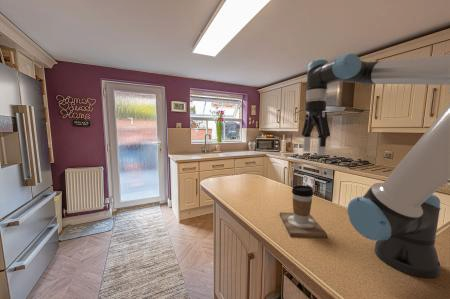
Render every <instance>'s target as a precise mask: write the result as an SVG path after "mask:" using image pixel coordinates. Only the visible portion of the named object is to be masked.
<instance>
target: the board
mask: <svg viewBox="0 0 450 299" xmlns="http://www.w3.org/2000/svg"><path fill="white" fill-rule="evenodd" d="M279 217H280V219H281V221H282V223H283V225H284V227H285V229H286V231H287V233H288V235H289V237H304V238H322V239H323V238H324V239H327V238H328V233H327V232H326V231H325V229H323V227H322V226H321V225H320V224H319V223H318V222H317V220H316V219H315V218H314V217H313V215H311V214H310V215H309V221H308V223H307V224H299V223H296V222H295V221H294V213H293V212H281V211H280V212H279Z"/></svg>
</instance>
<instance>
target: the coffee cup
mask: <svg viewBox="0 0 450 299" xmlns="http://www.w3.org/2000/svg"><path fill="white" fill-rule="evenodd" d="M291 193H292V210H293V212H292V213H294V221H295V222H296V223H299V224H307V223H308V221H309V215H311V209H312V201H313V196H314V189H313V187H312V186H310V185H294V186H293V187H292V190H291Z"/></svg>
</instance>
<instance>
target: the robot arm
mask: <svg viewBox="0 0 450 299" xmlns="http://www.w3.org/2000/svg"><path fill="white" fill-rule="evenodd" d="M335 82H344V83H352V84H353V83H354V84H359V85H366V86H370V85H371V86H372V85H376V84H377V85H433V86H434V85H435V86H436V85H438V86H439V85H441V86H442V85H443V86H444V85H445V86H450V54H441V55H439V54H438V55H430V56H429V55H428V56H419V57H418V56H417V57H411V58H410V57H409V58H408V57H407V58H399V59H398V58H397V59H396V58H395V59H386V60H377V61H363V60H362V59H361V58H360V57H359V56H358V55H357V53H348V54H344V55H341V56H339V57H337V58H335V59H332V60H330V61H328V60H327V59H317V60H313V61H311V62H309V64H308V65H307V72H306V95H305V101H306V103H305V112H307V113H308V114H305V116H304V118H305V119H304V124H303V128H302V132H301V136H303V146H302V147H303V149H302V151H303V152H307V153H308V152H310V151H311V137H312V135H311V134H312V132H313V129H314V126H315V127H316V131H317V134H318V136H317V148H316V150H317V152H316V155H317V156H326V146H327V145H326V144H327V138H328V137H331V133H330V126H329V122H328V112H327V111H326V110H327V101H326V100H327V96H328V93H327V92H328V84H329V85H330V84H332V83H333V84H334V83H335ZM448 92H449V93H450V89H448ZM449 179H450V103H449V104H448V105H447V106H446V108H444V110H443V111H442V112H441V113H440V114H439V116H438V117H437V118H436V119H435V121H434V122H433V123H432V124H431V125H430V126H429V127H428V129H427V130H426V131H425V132H424V133H423V135H422V136H421V137H420V138H419V139H418V140H417V142H416V143H415V144H414V146H412V148H411V149H410V150H409V152H407V154H406V155H405V156H404V157H403V158H402V159H401V161H400V162H399V163H398V164H397V166H396V167H395V168H394V169H393V170H392V171H391V173H389V175H388V176H387V178H386V179H385V180H383V182H376V183H373V184H372V185H371V186H370V187H369V189H368V190H367V191H366V192H365V194H364V195H363V196H357V197H354V198H353V199H351V200H350V201H349V203H348V204H347V212H346V213H347V215H348V219H349V220H348V221H349V222H350V224H351V226H352V227H353V228H354V230H356V231H357V233H358V234H360V235H361V236H362V237H364V238H366V239H367V240H371V241H376V242H375V245H374V253H375V254H376V256H377V257H378V258H379V259H380V260H381V261H383V263H385V264H387V265H389V266H390V267H392V268H394V269H396V270H398V271H400V272H403V273H405V274H409V275H412V276H415V277H419V278H424V279H425V278H426V279H427V278H428V279H434V278H437V277H439V276H440V274H441V270H442V267H441V266H442V265H441V262H440V261H439V256H438V253H437V250H436V246H435V245H436V244H435V243H436V237H437V230H438V223H439V218H440V211H441V209H442V208H441V200H440V198H439V197H438V196H437V195H434V194H435V192H437V191H438V190H439V189H440V188H441V187H442V186H443V185H444V184H445V183H446V182H448V181H449Z"/></svg>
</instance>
